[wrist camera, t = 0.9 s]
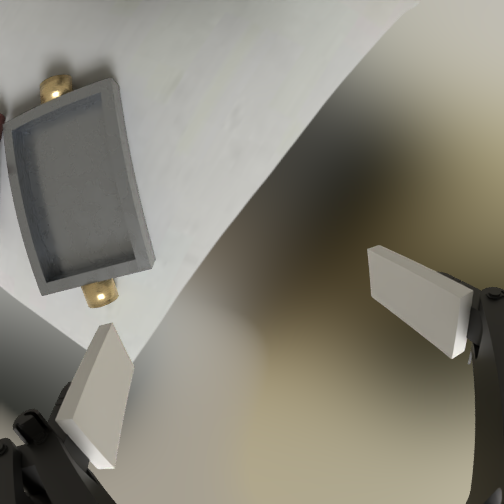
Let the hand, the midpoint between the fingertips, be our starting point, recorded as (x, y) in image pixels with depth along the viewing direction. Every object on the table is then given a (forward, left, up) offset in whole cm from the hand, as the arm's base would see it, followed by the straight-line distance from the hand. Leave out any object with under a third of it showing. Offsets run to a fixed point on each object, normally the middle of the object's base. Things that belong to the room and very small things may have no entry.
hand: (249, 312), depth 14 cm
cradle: (-9, -16, -25) cm, 31 cm away
